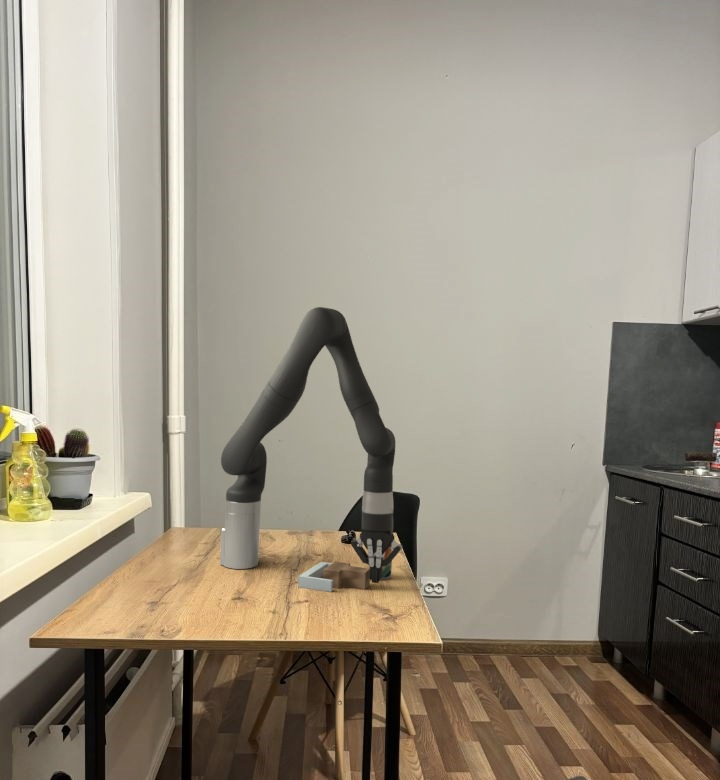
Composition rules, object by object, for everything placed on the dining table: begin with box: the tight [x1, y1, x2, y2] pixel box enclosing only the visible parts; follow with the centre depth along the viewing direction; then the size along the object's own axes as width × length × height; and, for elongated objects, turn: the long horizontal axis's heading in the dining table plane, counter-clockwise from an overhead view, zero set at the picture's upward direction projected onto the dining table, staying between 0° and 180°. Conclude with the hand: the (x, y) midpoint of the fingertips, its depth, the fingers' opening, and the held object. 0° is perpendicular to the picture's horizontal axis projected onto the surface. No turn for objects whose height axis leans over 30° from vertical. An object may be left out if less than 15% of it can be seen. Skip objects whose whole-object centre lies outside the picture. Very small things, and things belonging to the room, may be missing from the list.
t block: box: [322, 560, 371, 591], centre depth 141 cm, size 10×8×4 cm
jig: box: [297, 561, 334, 593], centre depth 143 cm, size 8×14×2 cm, turn 161°
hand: (375, 581), depth 139 cm, fingers closed
